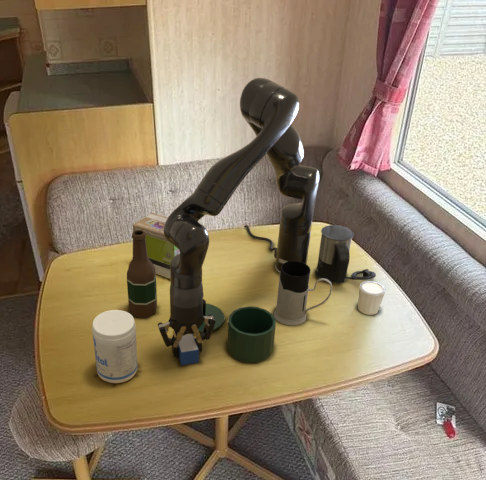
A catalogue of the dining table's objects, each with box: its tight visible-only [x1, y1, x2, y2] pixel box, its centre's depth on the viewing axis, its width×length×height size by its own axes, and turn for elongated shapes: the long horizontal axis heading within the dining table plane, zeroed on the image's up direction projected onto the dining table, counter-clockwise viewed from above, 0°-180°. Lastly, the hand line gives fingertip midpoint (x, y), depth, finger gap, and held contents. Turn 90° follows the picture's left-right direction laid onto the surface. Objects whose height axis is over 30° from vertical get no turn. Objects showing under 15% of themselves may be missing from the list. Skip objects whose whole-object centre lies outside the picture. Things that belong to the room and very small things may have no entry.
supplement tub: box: [91, 309, 139, 384], centre depth 126 cm, size 10×10×15 cm
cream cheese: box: [178, 334, 200, 366], centre depth 134 cm, size 6×4×4 cm
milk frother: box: [314, 224, 377, 284], centre depth 162 cm, size 14×16×15 cm
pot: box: [226, 305, 277, 364], centre depth 136 cm, size 11×11×8 cm
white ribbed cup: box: [357, 280, 386, 316], centre depth 151 cm, size 7×7×7 cm
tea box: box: [132, 212, 180, 280], centre depth 165 cm, size 15×10×15 cm
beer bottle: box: [126, 230, 158, 319], centre depth 144 cm, size 8×8×24 cm
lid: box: [198, 298, 226, 333], centre depth 146 cm, size 12×12×6 cm
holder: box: [273, 261, 333, 326], centre depth 145 cm, size 9×14×15 cm, turn 69°
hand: (186, 354), depth 135 cm, fingers closed on cream cheese, 4 cm apart
